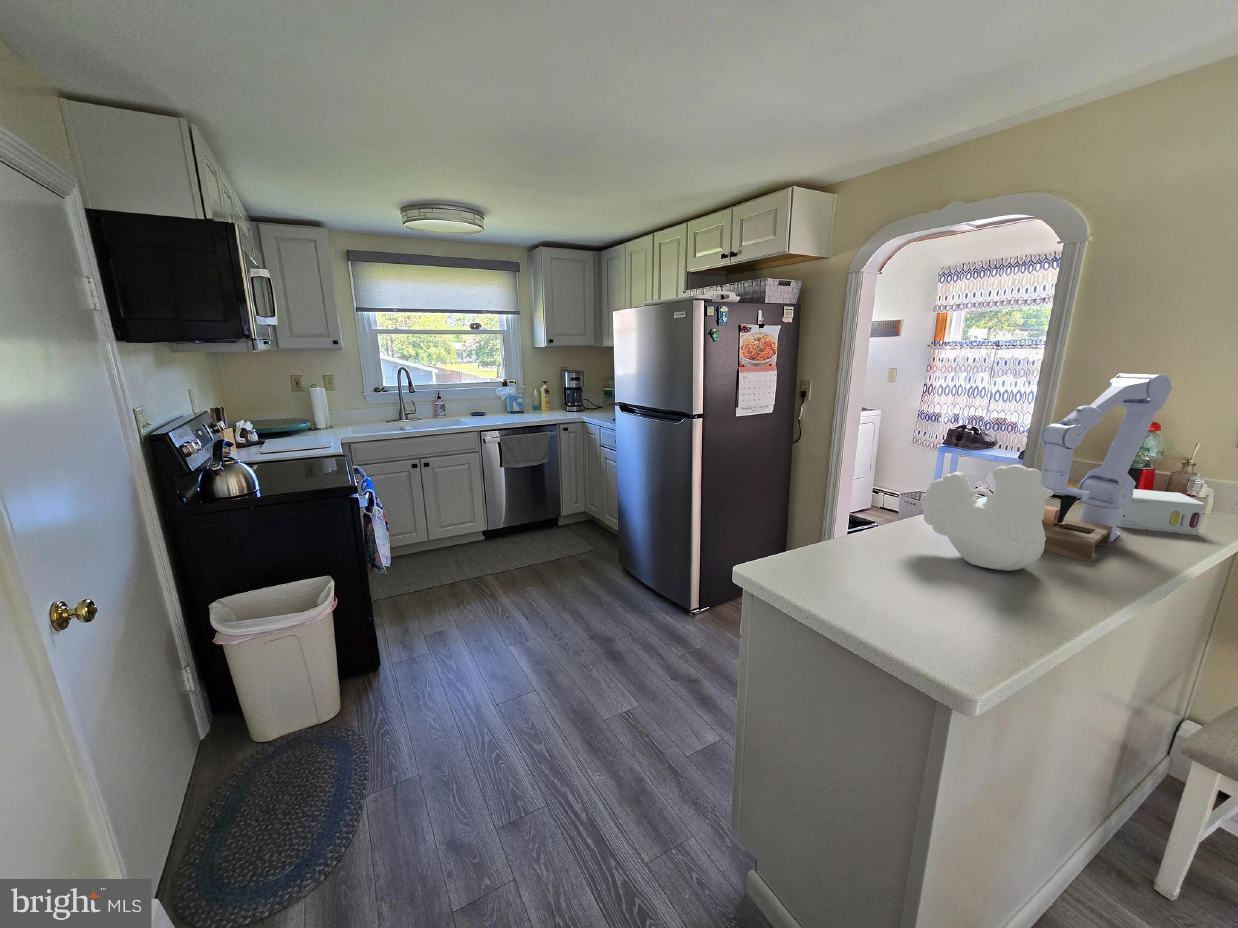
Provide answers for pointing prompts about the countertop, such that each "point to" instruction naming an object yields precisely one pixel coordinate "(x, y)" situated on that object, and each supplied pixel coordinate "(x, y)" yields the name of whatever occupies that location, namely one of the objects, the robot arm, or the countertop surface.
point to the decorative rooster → (991, 517)
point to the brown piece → (1050, 515)
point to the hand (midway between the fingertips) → (1046, 519)
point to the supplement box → (1162, 512)
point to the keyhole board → (1076, 538)
